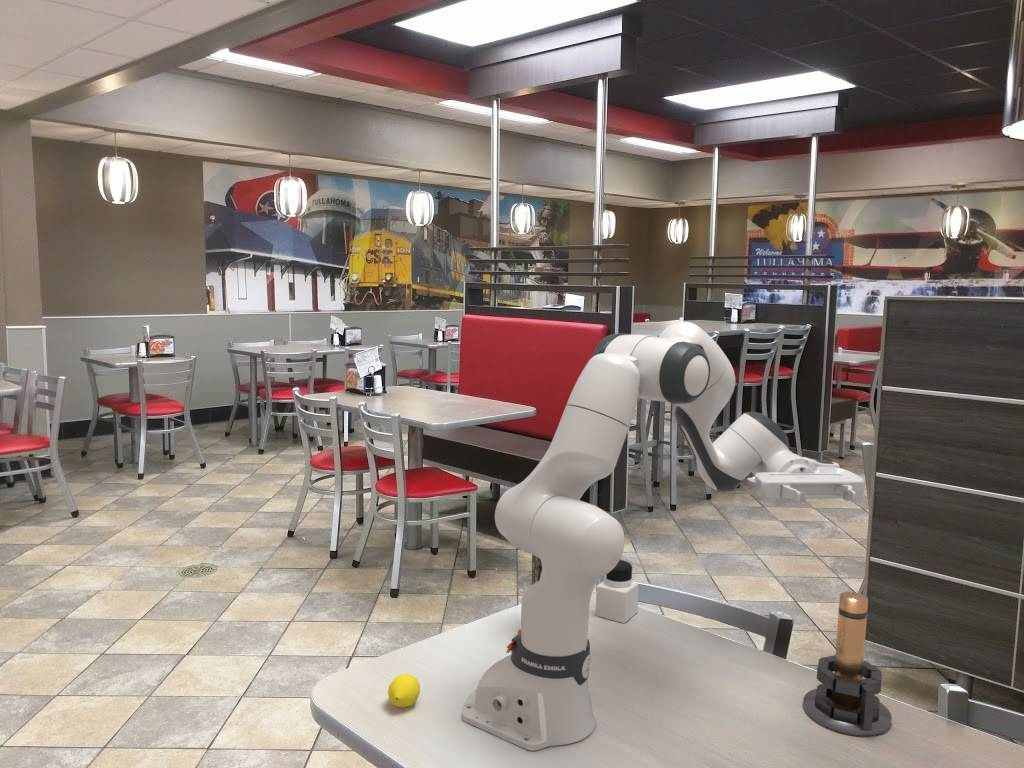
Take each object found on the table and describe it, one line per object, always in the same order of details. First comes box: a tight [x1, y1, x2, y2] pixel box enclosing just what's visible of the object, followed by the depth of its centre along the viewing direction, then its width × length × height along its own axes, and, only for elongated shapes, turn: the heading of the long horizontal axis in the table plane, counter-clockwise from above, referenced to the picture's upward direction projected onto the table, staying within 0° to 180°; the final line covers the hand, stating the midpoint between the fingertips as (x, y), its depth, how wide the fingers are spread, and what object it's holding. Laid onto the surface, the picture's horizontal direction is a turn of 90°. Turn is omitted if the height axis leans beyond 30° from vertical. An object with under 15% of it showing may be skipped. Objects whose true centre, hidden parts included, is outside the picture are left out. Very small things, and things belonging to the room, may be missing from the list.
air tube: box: [832, 591, 869, 709], centre depth 134 cm, size 4×4×20 cm
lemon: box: [387, 673, 421, 709], centre depth 136 cm, size 7×5×5 cm
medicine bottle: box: [595, 559, 639, 624], centre depth 174 cm, size 7×7×12 cm
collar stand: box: [802, 654, 892, 738], centre depth 135 cm, size 14×14×8 cm
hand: (826, 497), depth 143 cm, fingers open, 8 cm apart
